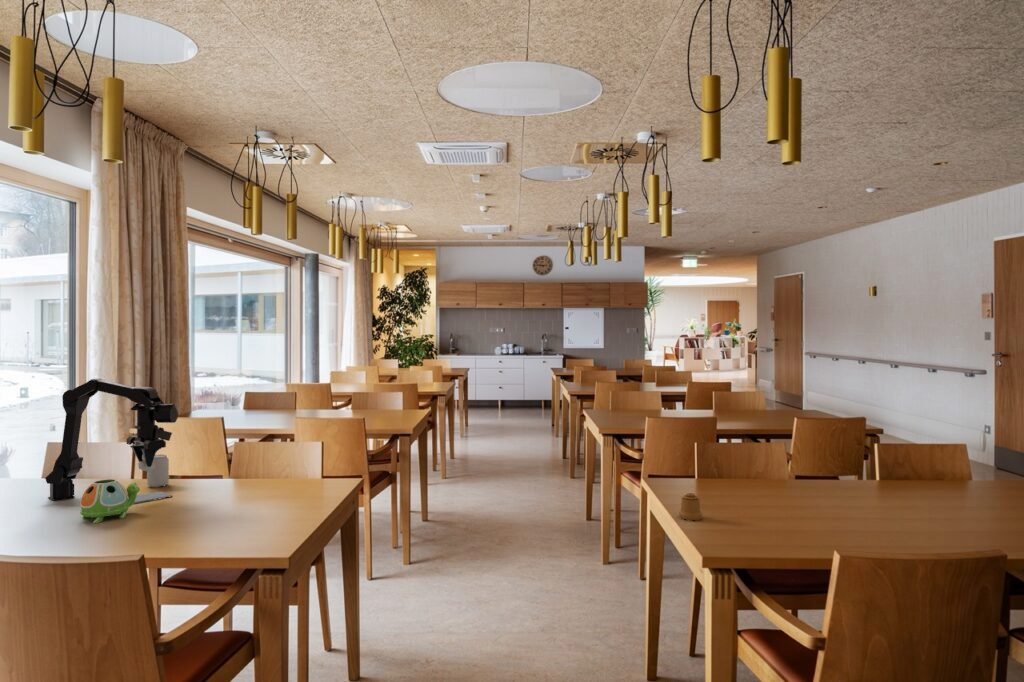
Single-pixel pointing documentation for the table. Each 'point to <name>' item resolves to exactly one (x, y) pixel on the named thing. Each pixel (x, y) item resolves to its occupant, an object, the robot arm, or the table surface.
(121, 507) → the turtle holder
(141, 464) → the off-white lumpy chunk
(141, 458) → the robot arm
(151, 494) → the grey mat
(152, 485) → the can
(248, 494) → the table surface
